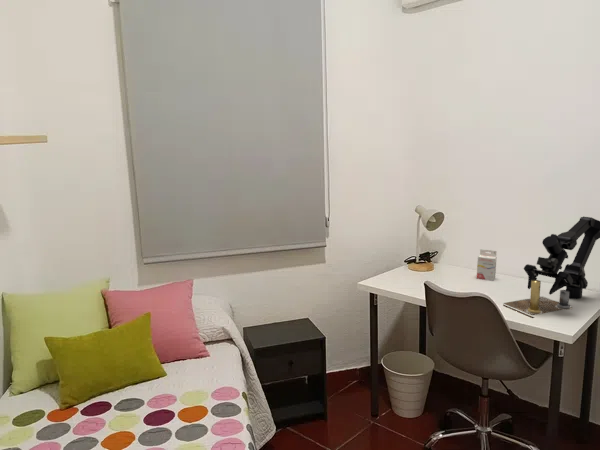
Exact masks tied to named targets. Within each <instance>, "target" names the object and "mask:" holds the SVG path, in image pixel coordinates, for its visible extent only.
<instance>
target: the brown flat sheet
mask: <svg viewBox="0 0 600 450" xmlns="http://www.w3.org/2000/svg"><path fill="white" fill-rule="evenodd" d="M558 303H559V301H555V300H553V299H550V298H546V297H544V296H541V297H540V300H539V309H541V313H537V314H536V313H530V312H528V308H529V307H530V300H528V298H527V299H523V300H522V299H521V300H515V301H511V302H509V303H508V302H505V303H503V305H502V307H505V308H506V309H507V308H508V309H509V310H512V311H514V312H516V311H517V313H519V314H521V315H523V316H526V317H529V318H531V319H534V318H535V317H534V316H537V315H541V314H546V313H548V314H549V313H551V312H557V311H563V310H564V311H569V310H572V309H573V307H572V306H570V309H561V308H558V307H557V304H558Z"/></svg>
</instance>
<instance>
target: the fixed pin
mask: <svg viewBox="0 0 600 450" xmlns="http://www.w3.org/2000/svg"><path fill="white" fill-rule="evenodd" d="M558 300H559V301H558V302H559V303H558V304H556V305H557V307H558V309H559V308H561V309H570V307H571V305H570V303H569V300H570V299H569V291H567V290H566V289H559V299H558ZM570 310H571V309H570Z"/></svg>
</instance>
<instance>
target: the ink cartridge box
mask: <svg viewBox="0 0 600 450" xmlns="http://www.w3.org/2000/svg"><path fill="white" fill-rule="evenodd" d="M479 251H480V253H479V255H478V256H477V262H476V263H477V265H476V266H477V267H476V279H478V280H486V281H487V280H488V281H494V280H495V279H496V276H497V275H496V273H497V251H496V250H492V249H490V250H489V249H479Z"/></svg>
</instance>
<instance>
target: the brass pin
mask: <svg viewBox="0 0 600 450" xmlns="http://www.w3.org/2000/svg"><path fill="white" fill-rule="evenodd" d="M541 282H542V281H541V280H539V279H536V280H532V281H531V288H530V297H529V301H530V304H529V305H530V307H529V308H528V312H530V313H536V314H537V313H541V309H542V308H541V309H540V308H539V301H541V299H540V298H541V296H540V295H541ZM536 314H535V315H536ZM537 315H538V314H537Z"/></svg>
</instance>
